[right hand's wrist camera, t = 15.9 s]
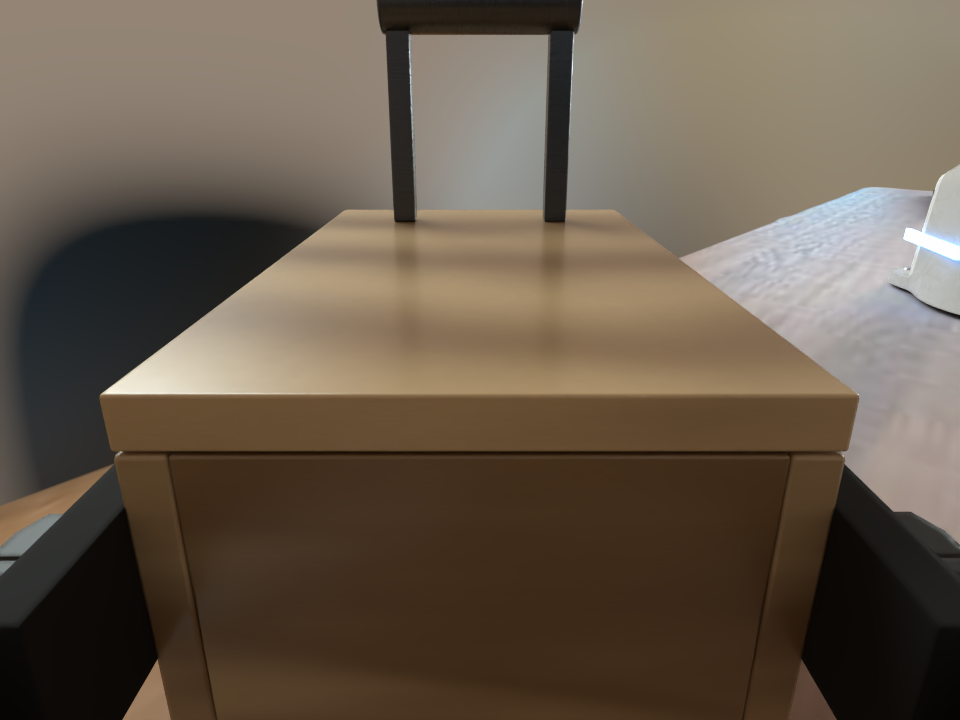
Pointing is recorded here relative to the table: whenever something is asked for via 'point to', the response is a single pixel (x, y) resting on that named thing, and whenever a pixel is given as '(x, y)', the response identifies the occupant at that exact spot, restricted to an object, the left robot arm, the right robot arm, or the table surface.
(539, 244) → the lid
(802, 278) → the table surface
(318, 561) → the chest
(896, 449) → the table surface
